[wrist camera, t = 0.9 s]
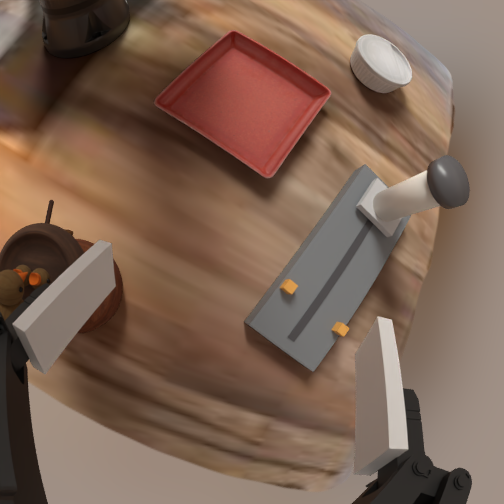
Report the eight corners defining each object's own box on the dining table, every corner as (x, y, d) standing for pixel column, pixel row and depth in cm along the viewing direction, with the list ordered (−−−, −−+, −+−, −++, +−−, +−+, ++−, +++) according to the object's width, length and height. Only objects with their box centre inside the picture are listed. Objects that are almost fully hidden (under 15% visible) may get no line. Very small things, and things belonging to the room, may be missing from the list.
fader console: (304, 366, 38) (318, 375, 34) (243, 321, 37) (252, 326, 33) (400, 216, 44) (418, 210, 39) (354, 170, 43) (371, 160, 38)
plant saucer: (263, 188, 40) (270, 180, 37) (152, 114, 37) (150, 101, 34) (324, 102, 43) (333, 91, 40) (229, 41, 41) (232, 27, 38)
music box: (130, 343, 34) (56, 402, 14) (52, 339, 32) (-53, 376, 13) (127, 214, 35) (53, 149, 16) (49, 219, 34) (-53, 172, 14)
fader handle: (386, 237, 39) (463, 219, 25) (355, 207, 38) (428, 175, 25) (402, 209, 40) (475, 184, 26) (373, 179, 39) (443, 142, 26)
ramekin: (406, 91, 48) (422, 78, 43) (371, 105, 45) (388, 90, 40) (371, 46, 47) (384, 31, 42) (332, 55, 45) (345, 37, 40)
